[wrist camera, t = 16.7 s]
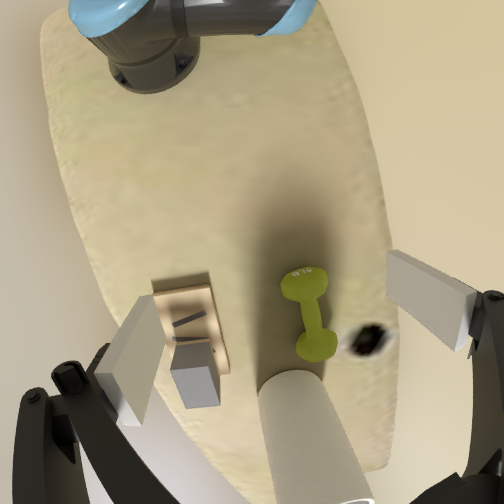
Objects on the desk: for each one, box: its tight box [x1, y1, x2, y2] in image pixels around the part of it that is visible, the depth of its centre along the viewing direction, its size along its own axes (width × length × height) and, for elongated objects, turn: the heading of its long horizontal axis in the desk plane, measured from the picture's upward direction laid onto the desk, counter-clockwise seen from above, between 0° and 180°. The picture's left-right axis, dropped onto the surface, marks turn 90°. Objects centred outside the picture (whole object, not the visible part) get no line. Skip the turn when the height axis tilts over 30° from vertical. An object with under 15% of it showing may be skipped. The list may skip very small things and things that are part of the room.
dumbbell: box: [280, 267, 338, 363], centre depth 46 cm, size 16×8×7 cm, turn 14°
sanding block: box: [170, 338, 220, 409], centre depth 44 cm, size 9×6×8 cm, turn 8°
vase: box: [258, 370, 375, 504], centre depth 39 cm, size 14×14×32 cm
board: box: [152, 283, 230, 375], centre depth 48 cm, size 18×10×2 cm, turn 9°
